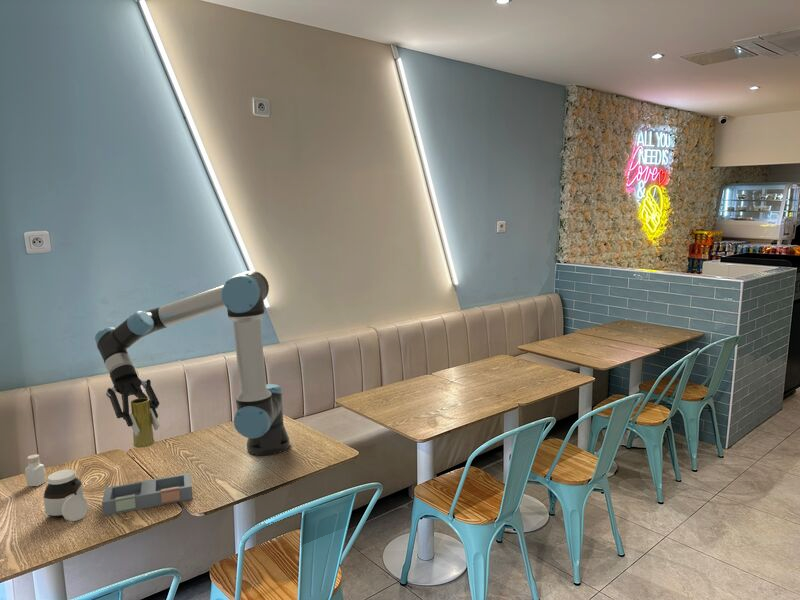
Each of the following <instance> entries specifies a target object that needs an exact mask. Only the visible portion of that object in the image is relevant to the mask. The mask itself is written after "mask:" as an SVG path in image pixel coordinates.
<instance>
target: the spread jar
mask: <svg viewBox="0 0 800 600" xmlns="http://www.w3.org/2000/svg"><path fill="white" fill-rule="evenodd" d="M47 482H48V484H47V485H46V488H45V490H44V493H43V503H44V511H45V514H46V515H47V516H48V517H49V518H52V519H55V520H61V518H63V519H65V520H67V521H69V522H75V521H76V522H77V521H79V520H81V519H83V518H84V517H85V516H86V514H87V512H88V509H89V503H88V501H87V499H86V497H84V490H83V489H84V488H83V484H82V480H81V479H80V478H78V477H76V471H75V470H74V469H62V470H57V471H55V472H53V473H50V474H49V475H48V476H47Z"/></svg>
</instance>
